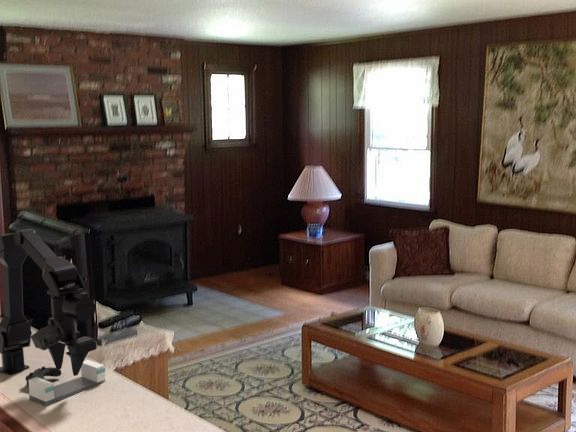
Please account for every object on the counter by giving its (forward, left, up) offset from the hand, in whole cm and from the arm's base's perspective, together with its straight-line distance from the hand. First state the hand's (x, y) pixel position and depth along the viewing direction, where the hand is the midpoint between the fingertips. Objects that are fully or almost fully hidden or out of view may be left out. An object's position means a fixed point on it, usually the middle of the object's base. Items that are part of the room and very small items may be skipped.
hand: (67, 372), depth 180 cm
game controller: (-8, 0, -5) cm, 10 cm away
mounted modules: (0, 0, -5) cm, 5 cm away
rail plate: (0, 0, -5) cm, 5 cm away
